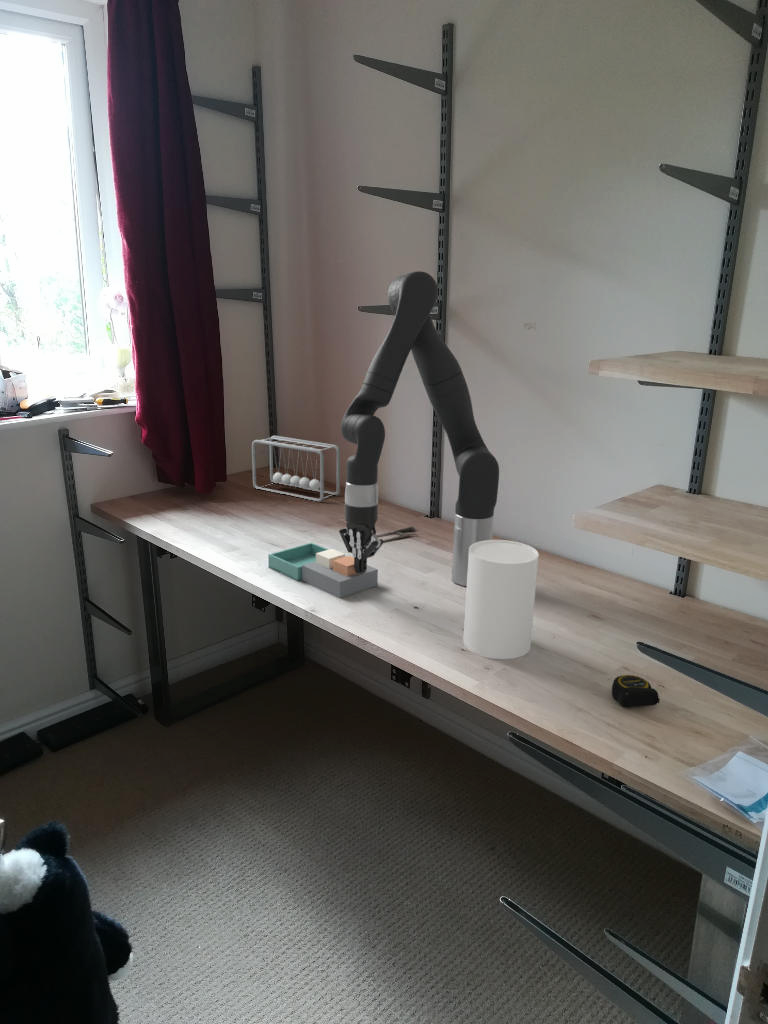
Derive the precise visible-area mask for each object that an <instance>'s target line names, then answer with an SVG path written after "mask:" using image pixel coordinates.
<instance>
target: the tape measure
mask: <svg viewBox="0 0 768 1024" xmlns="http://www.w3.org/2000/svg"><path fill="white" fill-rule="evenodd" d="M611 695H612V698H613V699H614V701H615V702H617V703H618V704H619V705H620V706H622V707H623V708H634V707H635V708H636V707H637V708H639V707H648V706H649V707H651V706H657V704H660V700H661V699H660V696H659V693H658V690H656V689H655V688H653V687H652V685H651V683H650V682H649V681H648V680H646V679H644V678H643V677H640V676H637V675H635V674H634V675H631V674H623V675H619V676H617V677H615V679H614V680H613V682H612V687H611Z"/></svg>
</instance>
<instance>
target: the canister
mask: <svg viewBox="0 0 768 1024" xmlns="http://www.w3.org/2000/svg"><path fill="white" fill-rule="evenodd" d="M539 556H540V555H539V551H538V550H537V549H536V548H534V547H533V546H531V545H528V544H526V543H523V542H520V541H514V540H507V539H506V540H505V539H492V540H485V541H480V542H476V543H474V544H472V545H471V546H470V547H469V556H468V573H467V586H466V591H465V607H464V608H465V609H464V625H463V626H464V627H463V638H462V639H463V640H462V641H463V645H464V646H465V648H466V649H467V650H469V652H472V653H474V654H475V655H477V656H480V657H484V658H488V659H494V660H512V659H518V658H521V657H523V656H525V655H527V654H528V653H529V652H530V650H531V641H532V632H533V631H532V630H533V621H534V608H535V599H536V588H537V577H538V567H539Z"/></svg>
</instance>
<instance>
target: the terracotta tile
mask: <svg viewBox="0 0 768 1024" xmlns="http://www.w3.org/2000/svg"><path fill="white" fill-rule="evenodd" d="M333 571H336V572H338V573H340V574H343V575H345V576H350V575H353V574H356V573H357V572H355V569H354V557H353V556H350V555H347V556H346V557H343V558H340V559H337V560H334V561H333Z"/></svg>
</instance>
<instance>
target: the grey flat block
mask: <svg viewBox="0 0 768 1024" xmlns="http://www.w3.org/2000/svg"><path fill="white" fill-rule="evenodd" d="M345 557H347V556H346V555H345ZM378 572H379V570H378V568H375V567H373V566H370V565H368V564H367V569H366V571H365V572H364V573H361V574H359V573H356V574H353V575H350V576H345V575H343V574H340V573H338V572H336V571H333V568H330V569H329V568H326V567H324V566H322V565H319V564H317V563H316V561H314V562H311V563H308V564H304V565H302V580H301V581H302V582H303V583H306V584H309V585H311V586H313V587H315V588H318V589H319V590H321V591H324V592H326V593H328V594H329V595H333V596H334V597H337V598H339V599H341V598H344V597H347V596H350V595H353V594H355V593H358V592H362V591H363V590H367V589H370V588H373V587H376V586H378V583H379V582H378V579H379V578H378V576H379V573H378Z"/></svg>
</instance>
